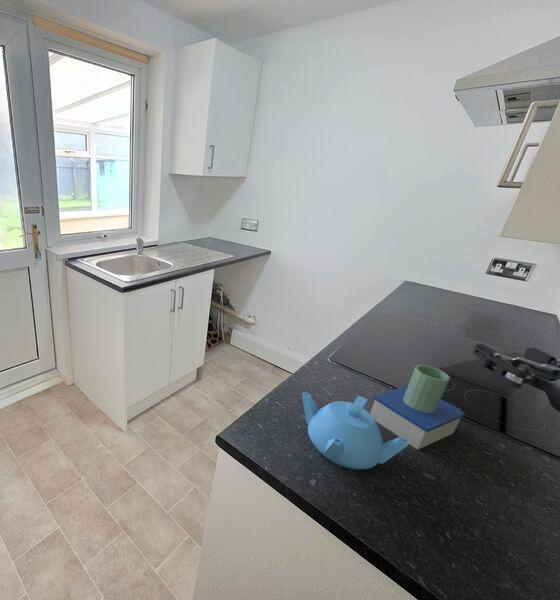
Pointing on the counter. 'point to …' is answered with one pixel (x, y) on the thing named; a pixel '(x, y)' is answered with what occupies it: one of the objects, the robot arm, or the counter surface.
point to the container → (415, 418)
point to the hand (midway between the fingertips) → (501, 350)
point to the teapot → (348, 434)
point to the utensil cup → (425, 388)
